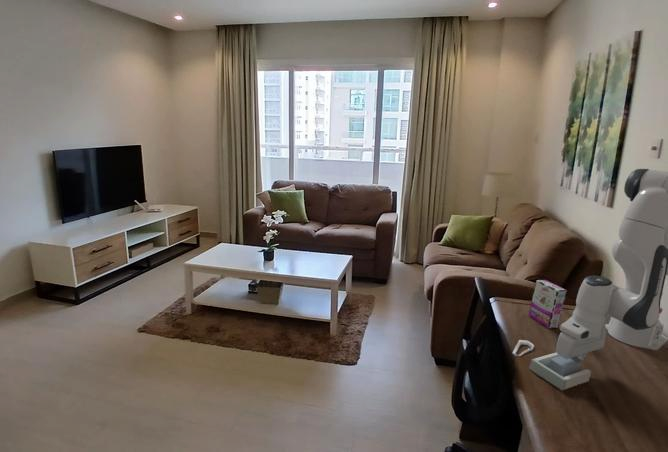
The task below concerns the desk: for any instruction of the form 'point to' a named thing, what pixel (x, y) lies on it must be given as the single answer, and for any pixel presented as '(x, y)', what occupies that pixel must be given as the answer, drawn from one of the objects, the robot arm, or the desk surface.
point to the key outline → (524, 344)
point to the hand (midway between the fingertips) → (576, 363)
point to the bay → (554, 378)
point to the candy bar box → (547, 303)
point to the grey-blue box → (565, 365)
